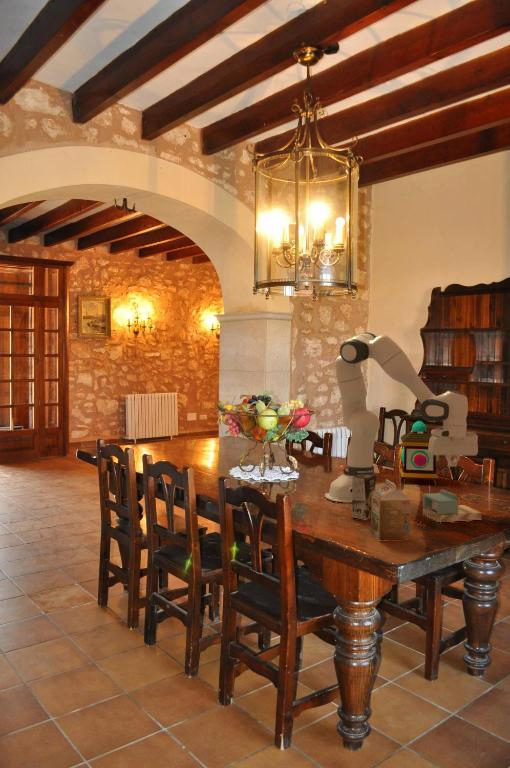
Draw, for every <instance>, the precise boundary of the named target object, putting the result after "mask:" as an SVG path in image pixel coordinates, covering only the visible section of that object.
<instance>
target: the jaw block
mask: <svg viewBox="0 0 510 768" xmlns="http://www.w3.org/2000/svg"><path fill="white" fill-rule="evenodd" d="M432 511H434V512H436V513H437V502H435V501H433V500H432Z"/></svg>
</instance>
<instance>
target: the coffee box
mask: <svg viewBox="0 0 510 768" xmlns="http://www.w3.org/2000/svg"><path fill="white" fill-rule="evenodd" d="M376 478H377V477H376V474H374V475H369V474H360V475H357V476H355V477H353V483H352V502H351V518H352V517H354V518H360V519H366V520H367V519H369V518H370V519H371V493H372V492H373V491H374V490H375V489H376V483H377V481H376ZM370 519H369V520H370ZM367 521H368V520H367Z"/></svg>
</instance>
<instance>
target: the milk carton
mask: <svg viewBox="0 0 510 768" xmlns="http://www.w3.org/2000/svg"><path fill="white" fill-rule="evenodd" d="M396 486H397V485H396V484H394V483H393V482H391V481H390V480H389V479H385V483H383V484H381V485H379V486H378V487H376V488H375V490H374V491H373V492H372V493H371V518H370V533H371V532H372V533H373V534H374V535H375V536H376V537H377V538H378V539H379V540H406V539H407V540H409V539H410V540H411V499H410V498H409V497H408V496H407V495H406V494H405V493H403V492H401V491H400V490H399V489H398V488H397V487H396ZM372 533H371V534H372ZM373 534H372V535H373ZM374 535H373V536H374ZM375 536H374V537H375ZM376 537H375V538H376Z"/></svg>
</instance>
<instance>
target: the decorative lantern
mask: <svg viewBox="0 0 510 768" xmlns="http://www.w3.org/2000/svg"><path fill="white" fill-rule="evenodd" d="M431 436H433V435H432V434H431V433H429V432H428V431H427V426H426V424H425V423H424V422H423V421H422V420H418V421H416V422H414V423H413V425H412V427H411V429H410V431H409V432H407V433H403V435H401V437H400V441H401V443H402V445H401V446H402V448H400V449H399V450H398V453H397V457H398V459H399V460H401V467H400V469H399V477H400V476H401V477H400V481H401V484H403V485H404V484H405V480H407V479H408V480H409V479H410V480H411V479H412V480H430V481H434V485H435V486H438V485H439V477H438V474H437V469H436V468H437V462H439V461H440V455H432V454H430V453H429V451H428V446H429V440H430V437H431Z"/></svg>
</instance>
